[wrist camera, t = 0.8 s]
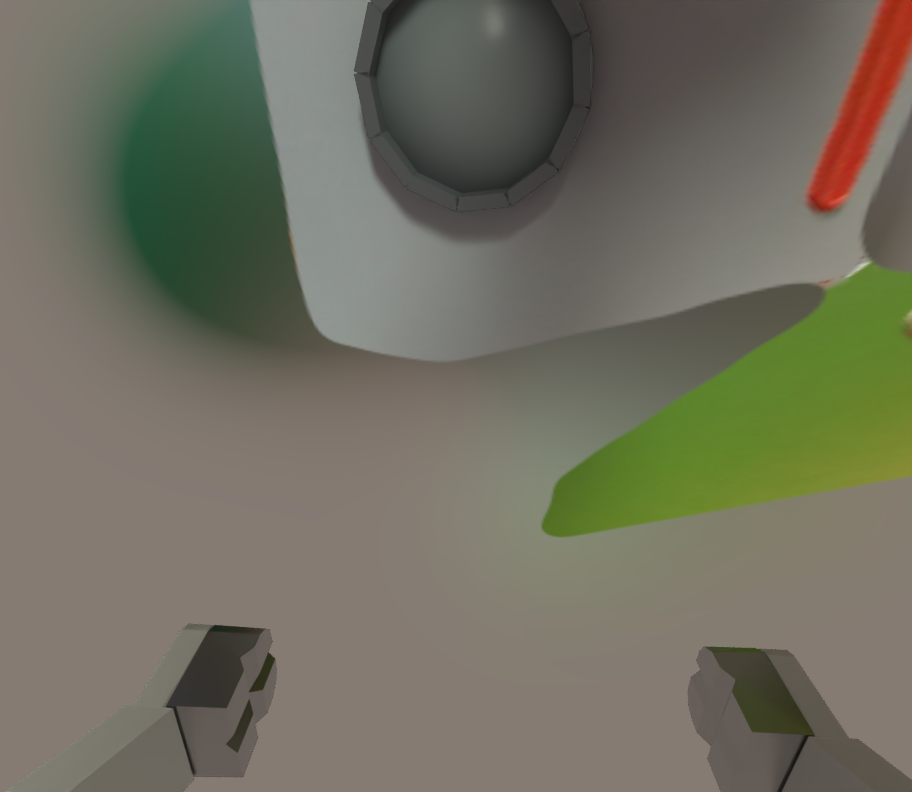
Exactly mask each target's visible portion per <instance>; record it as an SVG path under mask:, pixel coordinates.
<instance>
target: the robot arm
mask: <svg viewBox="0 0 912 792" xmlns="http://www.w3.org/2000/svg"><path fill="white" fill-rule="evenodd" d="M271 644H272V637H271V633H270V630H269V629H262V628H250V627H236V626H222V625H203V624H187V625H186V626H185V627H184V628H183V629H182V630H181V631H180V632H179V633H178V635H177V637H176V638H175V640H174V641H173V643H172V644H171V646H170V648H169V649H168V651H167V652H166V654H165V655H164V657H163V659H162V660H161V662H160V663H159V665H158V667H157V668H156V670H155V672H154V673H153V675H152V676H151V678H150V679H149V681H148V682H147V684H146V686H145V687H144V689H143V690H142V692H141V694H140V695H139V697H138V698H137V700H136V701H135V703H134V705H133V706H123V707H122V708H120V709H119V710H118V711H116V712H115V713H114V714H112V715H111V716H109V717H108V718H107V719H105V720H104V721H103V722H101V723H100V724H99V725H97V726H96V727H94V728H93V729H91V730H90V731H89V732H87V733H86V734H85V735H83V736H82V737H81V738H79V739H78V740H76V741H75V742H73V743H72V744H71V745H69V746H68V747H67V748H65V749H64V750H63V751H61V752H60V753H58V754H57V755H55V756H54V757H53V758H52V759H50V760H49V761H47V762H46V763H45V764H43V765H42V766H41V767H39V768H38V769H36V770H35V771H34V772H32V773H31V774H29V775H28V776H27V777H25V778H24V779H22V780H21V781H20V782H18V783H17V784H15V785H14V786H13V787H11V788H10V789H9V790H7V791H6V792H183V791H184V790H185V789H186V788H187V787H188V786H189V785H190V784H191V783H192V782H193V781H194V777H243V776H244V774H245V771H246V768H247V766H248V763H249V761H250V758H251V755H252V752H253V750H254V747H255V745H256V742H257V739H258V736H257V731H256V725H255V724H256V723H257V722H258V721H259V720H260V719H261V718H262V717H264V716H265V715H266V714H267V713H268V709H269V707H270V704H271V701H272V698H273V694H274V689H275V684H276V674H277V672H276V671H277V668H276V660H275V658H274V657H273V656H272V655H271V654H270V653H269V652H268V651H269V649H270V646H271ZM697 663H698V665H699V667H700V671H698V672H697V673H696V674H694V675H693V676H692V677H691V679H690V683H689V687H688V705H689V710H690V714H691V718H692V721H693V723H694V726H695V729H696V731H697V733H698V734H699V735H700V736H701V737H702V738H703V739H704V740H706V742H707V743H708V744H709V745H710V746H711V748H710V751H709V755H708V758H707V759H708V762H709V764H710V766H711V769H712V771H713V774H714V776H715V779H716V781H717V784H718V786H719V789H720V791H721V792H912V780H911V779H910V778H909V777H907V776H906V775H905V774H904V773H902V772H901V771H900V770H898V769H897V768H896V767H894V766H893V765H892V764H890V763H889V762H888V761H886V760H885V759H884V758H883V757H881V756H880V755H879V754H877V753H876V752H875V751H873V750H872V749H871V748H869V747H868V746H867V745H865V744H864V743H862V741H860V740H859V739H852V738H849V737H848V736H847V734H846V733H845V731H844V730H843V728H842V727H841V725H840V724H839V722H838V721H837V719H836V718H835V716H834V715H833V713H832V712H831V710H830V709H829V707H828V706H827V704H826V703H825V701H824V700H823V698H822V697H821V695H820V694H819V692H818V691H817V689H816V688H815V686H814V685H813V683H812V682H811V680H810V679H809V677H808V676H807V674H806V673H805V671H804V670H803V668H802V667H801V665H800V664H799V662H798V661H797V659H796V658H795V656H794V655H793V654H792V653H790V652H789V651H788V650H776V649H775V650H774V649H756V648H735V647H732V648H731V647H703V648H702V649H701V650H700V651H699V654H698V657H697Z"/></svg>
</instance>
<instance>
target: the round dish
mask: <svg viewBox="0 0 912 792" xmlns="http://www.w3.org/2000/svg"><path fill="white" fill-rule="evenodd" d="M354 71H355V72H357V74H354V76H355V81H356V85H357V90H358V94H359V99H360V103H361V107H362V112H363V116H364V121H365V125H366V130H367V134H368V138H372V139H371V140H370V142H371V143H372V145H373V146H374V147H375V149H376V150H377V151H378V152H379V154H380V155H381V156H382V158H383V159H384V160H385V162H386V163H387V164H388V166H389V167H390V168H391V170H392V171H393V172H394V174H395V175H396V176H397V177H398V179H399V180H400V181H401V183H402V184H403V185H404V187H406V186H407V185H408V188H407V189H408V190H410V191H412V192H414V193H416V194H419V195H421V196H423V197H425V198H427V199H429V200H431V201H433V202H436V203H438V204H440V205H442V206H444V207H446V208H448V209H450V210H453V211H456V210H457V212H463V211H474V210H484V209H495V208H505V207H510V205H511V206H513V205H514V204H516V203H517V202H518V201H520V200H521V199H522V198H524V197H525V196H526V195H528V194H529V193H531V192H532V191H533V190H535V189H536V188H537V187H539V186H540V185H541V184H543V183H544V182H546V181H547V180H548V179H550V178H551V177H552V176H554V175H555V174H557V173H558V172H559V169H561V167H562V165H563V163H564V161H565V159H566V157H567V156H568V154H569V153H570V151H571V149H572V147H573V146H574V144H575V142H576V140H577V138H578V136H579V134H580V131H581V129H582V126H583V124H584V121H585V118H586V116H587V114H588V112H589V110H590V107H589V106H590V105H591V91H592V85H593V51H592V44H591V38H590V31H589V26H588V24H587V22H586V19H585V16H584V12H583V10H582V8H581V6H580V3H579V1H578V0H371V2H368V6H367V10H366V15H365V20H364V25H363V30H362V35H361V39H360V44H359V49H358V54H357V59H356V64H355V68H354Z"/></svg>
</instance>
